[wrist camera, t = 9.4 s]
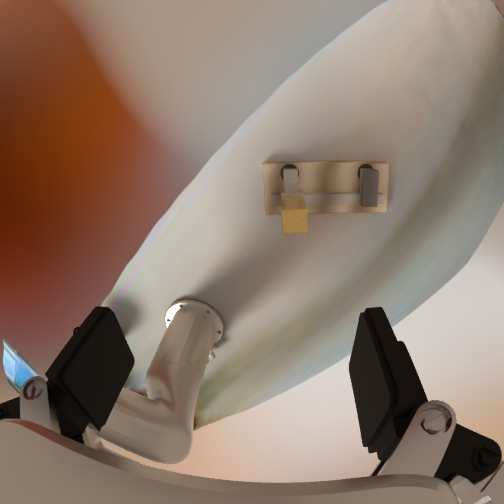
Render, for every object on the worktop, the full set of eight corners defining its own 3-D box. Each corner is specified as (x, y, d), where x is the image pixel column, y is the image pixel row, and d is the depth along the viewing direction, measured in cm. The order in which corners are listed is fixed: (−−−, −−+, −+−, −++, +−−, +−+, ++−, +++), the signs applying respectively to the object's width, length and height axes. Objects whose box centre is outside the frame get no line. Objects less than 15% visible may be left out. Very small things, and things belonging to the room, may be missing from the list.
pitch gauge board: (385, 162, 39) (395, 167, 36) (383, 209, 43) (392, 217, 39) (262, 163, 42) (261, 167, 38) (266, 211, 45) (265, 220, 41)
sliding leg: (299, 166, 39) (306, 179, 30) (301, 211, 42) (307, 236, 33) (279, 167, 40) (280, 180, 31) (281, 211, 43) (283, 237, 34)
